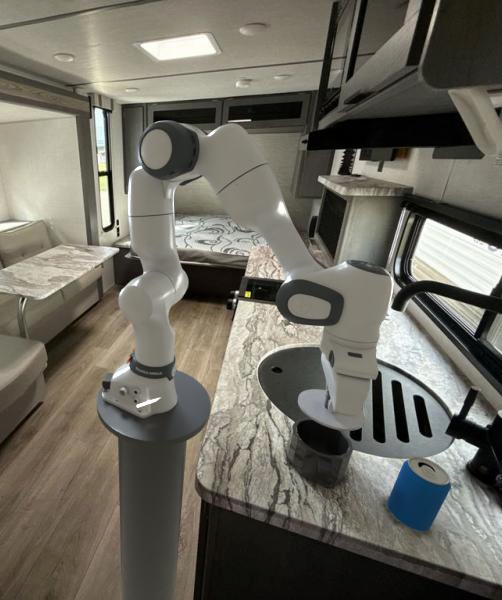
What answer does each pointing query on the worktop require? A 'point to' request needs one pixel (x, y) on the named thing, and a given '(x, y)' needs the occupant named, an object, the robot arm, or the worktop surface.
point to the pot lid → (327, 411)
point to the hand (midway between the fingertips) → (330, 404)
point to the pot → (319, 451)
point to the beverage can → (419, 493)
